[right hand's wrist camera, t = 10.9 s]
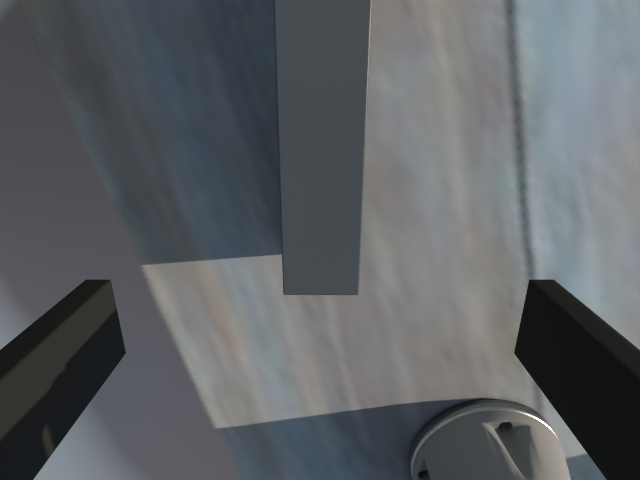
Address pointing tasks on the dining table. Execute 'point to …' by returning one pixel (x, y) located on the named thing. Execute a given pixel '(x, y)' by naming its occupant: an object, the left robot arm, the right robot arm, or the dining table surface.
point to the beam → (321, 140)
